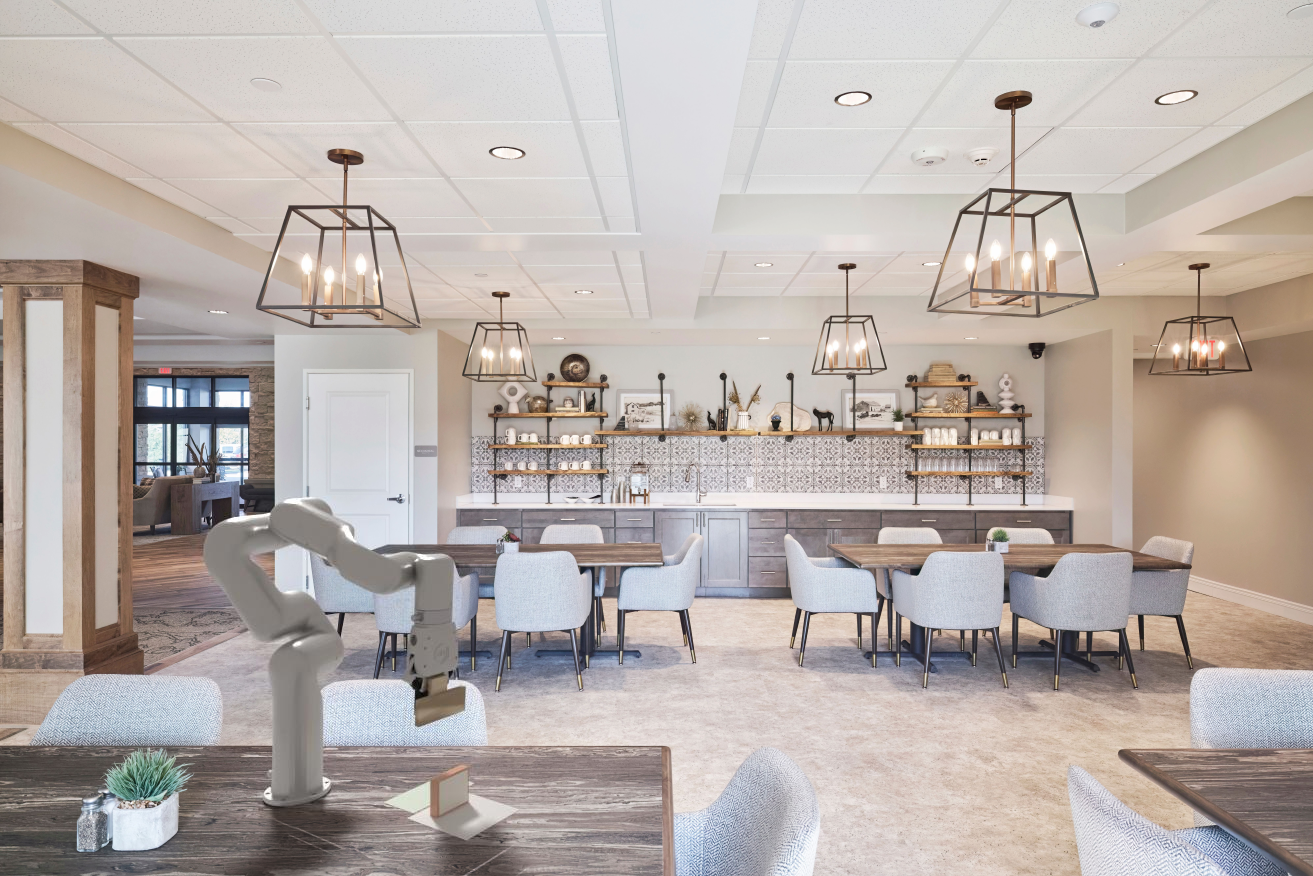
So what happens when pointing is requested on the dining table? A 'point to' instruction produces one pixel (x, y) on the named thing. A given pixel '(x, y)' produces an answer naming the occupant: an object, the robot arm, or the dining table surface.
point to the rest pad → (414, 799)
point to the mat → (467, 817)
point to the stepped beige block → (439, 701)
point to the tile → (449, 791)
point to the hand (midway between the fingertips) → (430, 706)
